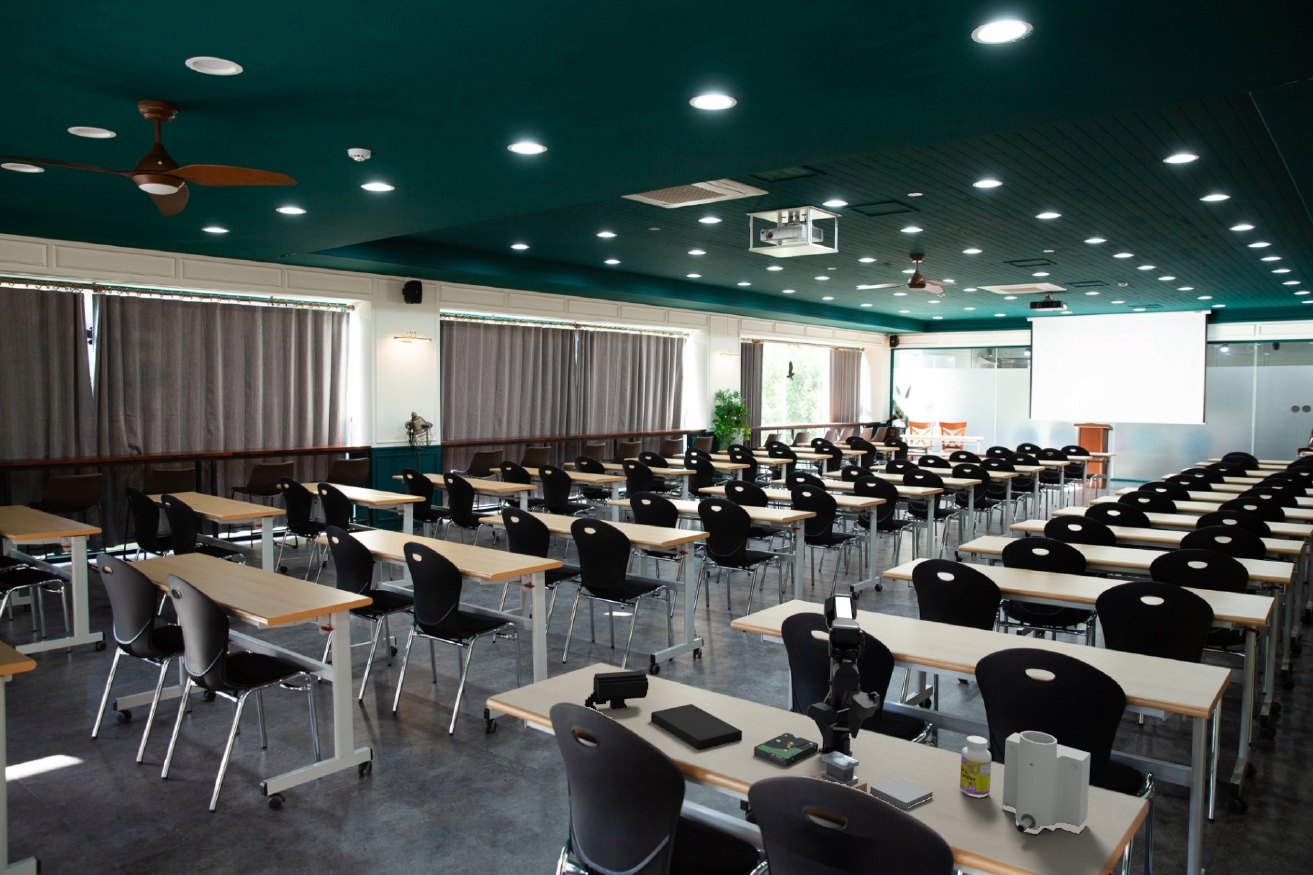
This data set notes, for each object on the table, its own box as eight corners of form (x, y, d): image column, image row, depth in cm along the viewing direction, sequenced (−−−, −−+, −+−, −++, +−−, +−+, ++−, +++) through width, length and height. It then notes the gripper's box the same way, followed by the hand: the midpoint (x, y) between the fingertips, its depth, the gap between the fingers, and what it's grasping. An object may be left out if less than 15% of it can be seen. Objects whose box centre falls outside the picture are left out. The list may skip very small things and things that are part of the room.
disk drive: (785, 742, 230) (752, 757, 219) (786, 732, 230) (753, 746, 219) (818, 753, 223) (786, 769, 212) (819, 743, 223) (787, 758, 212)
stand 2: (870, 792, 200) (870, 786, 200) (896, 782, 206) (896, 776, 206) (906, 809, 192) (906, 803, 192) (932, 798, 198) (932, 791, 198)
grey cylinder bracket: (1087, 825, 187) (1091, 735, 187) (1060, 857, 173) (1065, 760, 173) (1011, 800, 198) (1015, 716, 197) (981, 828, 184) (985, 737, 183)
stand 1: (811, 783, 204) (812, 775, 204) (834, 775, 209) (834, 767, 209) (844, 799, 196) (844, 791, 196) (866, 791, 201) (867, 782, 201)
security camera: (582, 706, 251) (583, 672, 251) (642, 701, 257) (643, 668, 256) (587, 714, 244) (588, 680, 244) (649, 709, 250) (650, 676, 250)
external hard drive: (699, 752, 221) (699, 740, 221) (650, 722, 241) (651, 712, 241) (741, 741, 229) (742, 730, 229) (691, 713, 249) (692, 703, 248)
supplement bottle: (953, 788, 204) (956, 735, 203) (975, 784, 206) (978, 732, 205) (973, 801, 197) (975, 746, 197) (995, 797, 200) (998, 743, 199)
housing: (821, 776, 203) (821, 755, 203) (835, 771, 206) (835, 751, 206) (844, 787, 198) (844, 766, 198) (858, 782, 201) (858, 761, 201)
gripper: (844, 694, 189) (841, 763, 190) (896, 680, 201) (893, 745, 201) (807, 680, 198) (804, 746, 199) (858, 667, 209) (856, 729, 210)
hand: (841, 742), depth 202 cm, fingers open, 9 cm apart
